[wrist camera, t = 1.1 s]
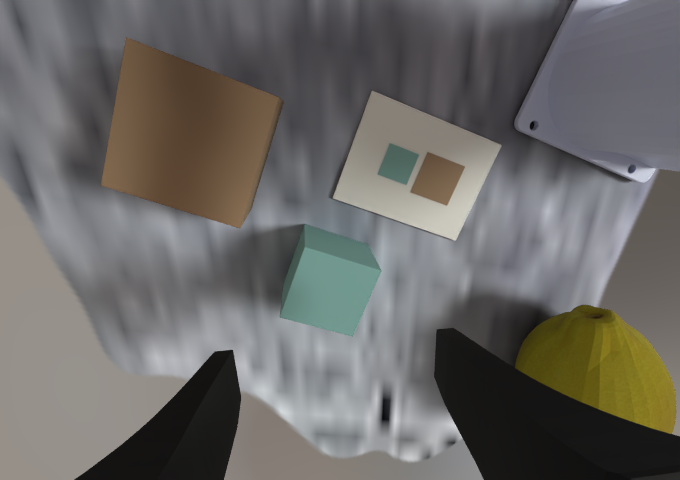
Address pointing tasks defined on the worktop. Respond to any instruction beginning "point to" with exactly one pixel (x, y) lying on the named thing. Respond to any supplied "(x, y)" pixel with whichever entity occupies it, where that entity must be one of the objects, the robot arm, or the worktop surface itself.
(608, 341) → the lemon
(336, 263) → the teal block
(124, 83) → the walnut block
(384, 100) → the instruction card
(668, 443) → the robot arm
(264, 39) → the worktop surface
